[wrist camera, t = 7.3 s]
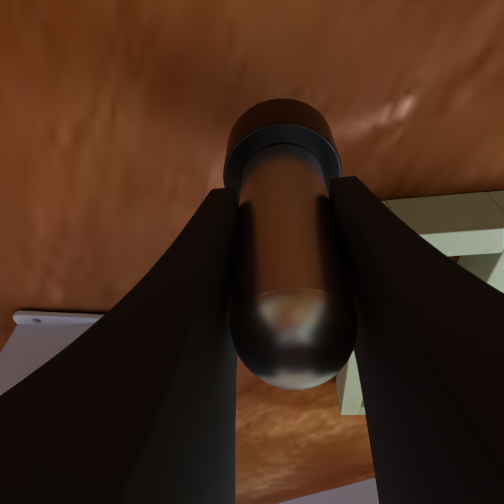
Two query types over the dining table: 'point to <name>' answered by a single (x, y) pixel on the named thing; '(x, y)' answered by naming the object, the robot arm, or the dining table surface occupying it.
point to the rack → (449, 243)
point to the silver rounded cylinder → (288, 248)
